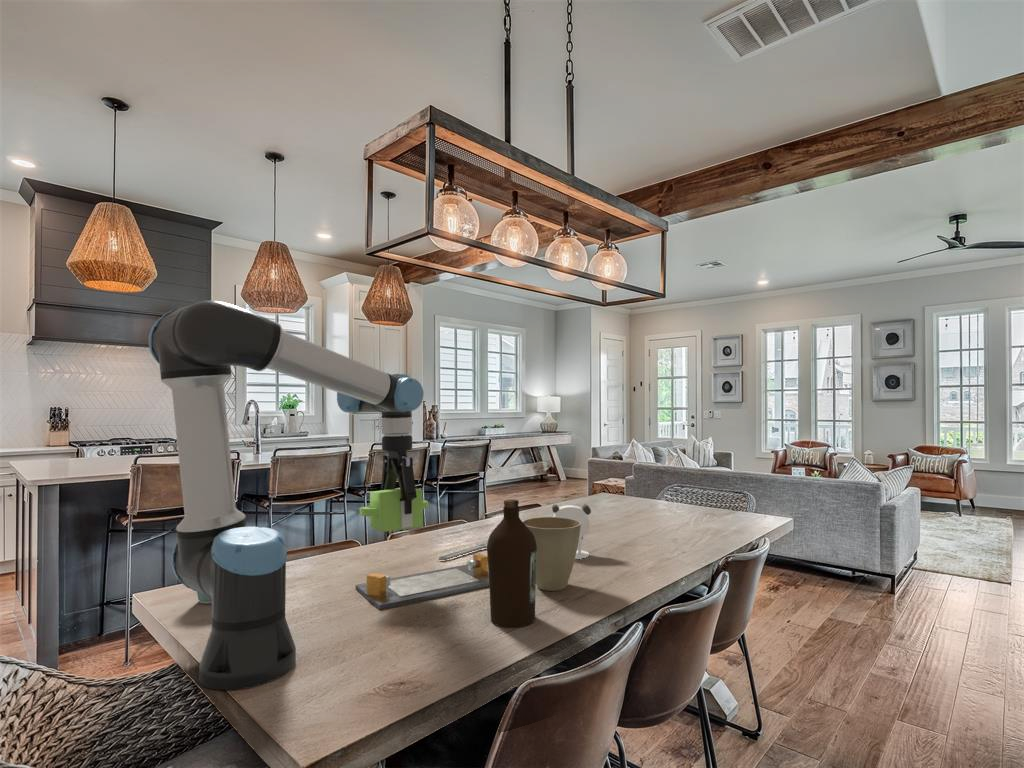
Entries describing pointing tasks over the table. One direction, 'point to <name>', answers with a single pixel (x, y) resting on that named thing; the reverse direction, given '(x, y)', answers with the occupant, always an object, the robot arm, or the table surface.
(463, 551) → the adjustable wrench
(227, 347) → the robot arm
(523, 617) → the olive oil
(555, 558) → the plant pot
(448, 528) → the table surface
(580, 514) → the panda figurine
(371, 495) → the green block with lugs
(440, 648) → the table surface
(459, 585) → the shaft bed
